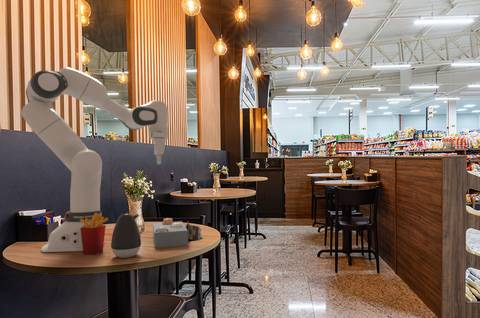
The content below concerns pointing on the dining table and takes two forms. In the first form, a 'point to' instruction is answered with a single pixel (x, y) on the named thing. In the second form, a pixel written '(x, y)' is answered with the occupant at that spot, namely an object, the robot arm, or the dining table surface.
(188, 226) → the chocolate cake
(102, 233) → the french fries
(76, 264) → the dining table surface
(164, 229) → the grey plunger
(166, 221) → the terracotta plunger
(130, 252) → the dark grey egg shape
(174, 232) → the grey open box
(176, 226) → the cream plunger
